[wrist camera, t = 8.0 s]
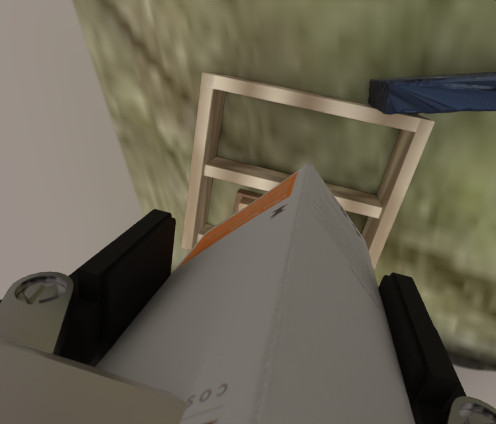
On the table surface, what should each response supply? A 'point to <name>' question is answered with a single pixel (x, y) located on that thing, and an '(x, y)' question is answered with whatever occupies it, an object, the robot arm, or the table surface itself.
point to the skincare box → (272, 320)
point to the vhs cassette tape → (434, 94)
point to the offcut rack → (209, 166)
